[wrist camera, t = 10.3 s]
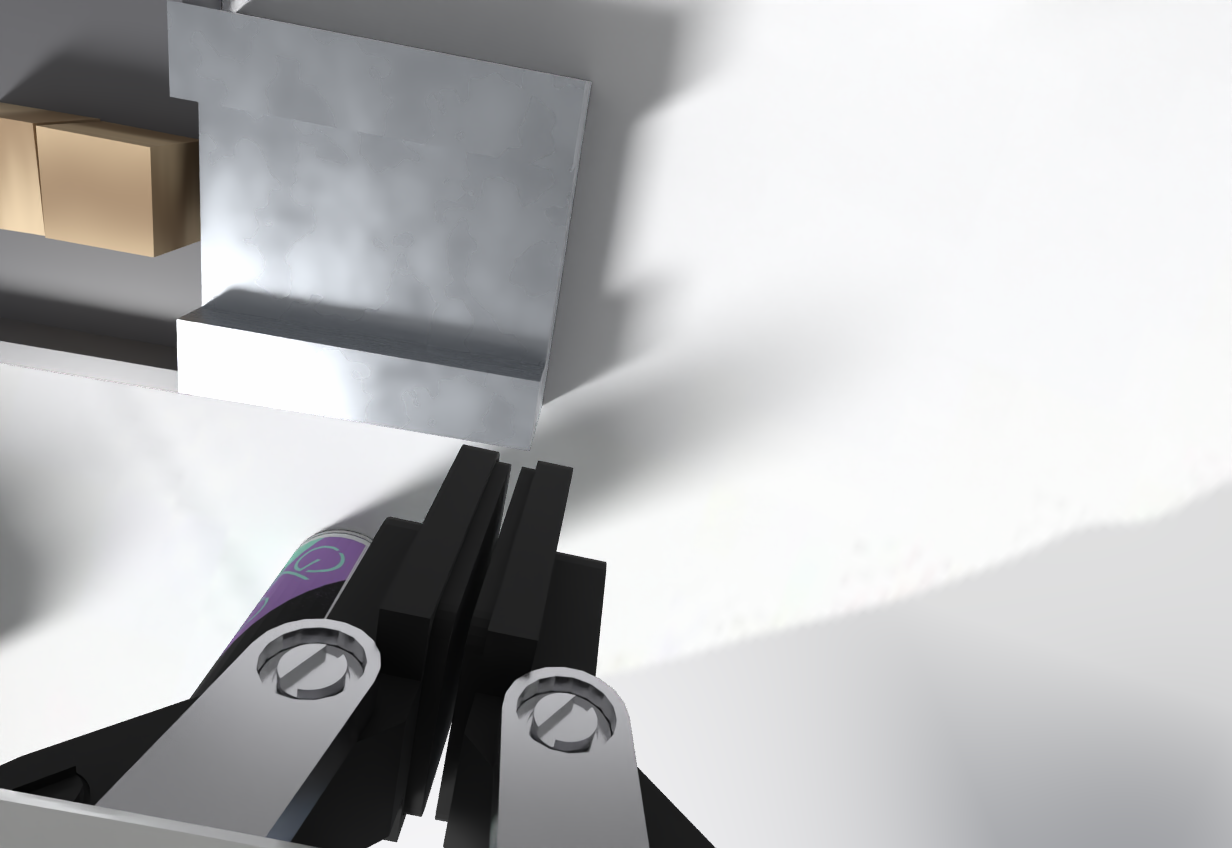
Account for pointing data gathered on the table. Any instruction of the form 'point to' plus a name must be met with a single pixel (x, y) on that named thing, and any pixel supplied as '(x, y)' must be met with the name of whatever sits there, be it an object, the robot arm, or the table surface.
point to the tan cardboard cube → (24, 165)
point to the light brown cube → (119, 187)
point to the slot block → (374, 226)
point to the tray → (80, 274)
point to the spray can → (298, 591)
